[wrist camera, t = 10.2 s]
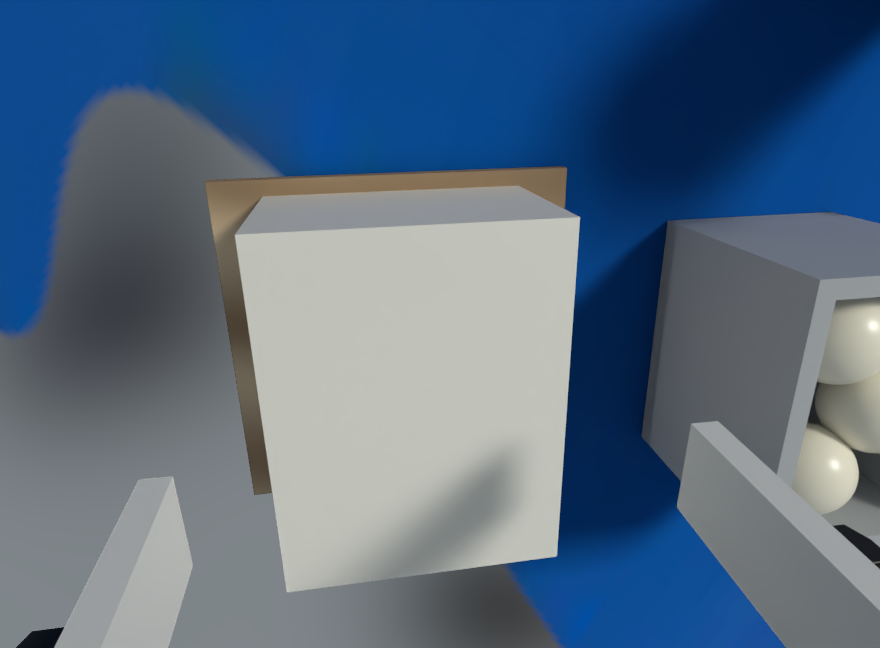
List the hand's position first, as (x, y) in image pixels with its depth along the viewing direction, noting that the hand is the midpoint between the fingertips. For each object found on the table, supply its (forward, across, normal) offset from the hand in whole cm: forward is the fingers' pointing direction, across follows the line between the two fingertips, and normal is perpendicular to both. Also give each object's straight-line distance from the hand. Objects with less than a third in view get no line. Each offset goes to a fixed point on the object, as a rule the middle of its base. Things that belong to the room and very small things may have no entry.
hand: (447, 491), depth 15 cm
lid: (+11, 0, -1) cm, 11 cm away
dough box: (+12, +16, -2) cm, 20 cm away
